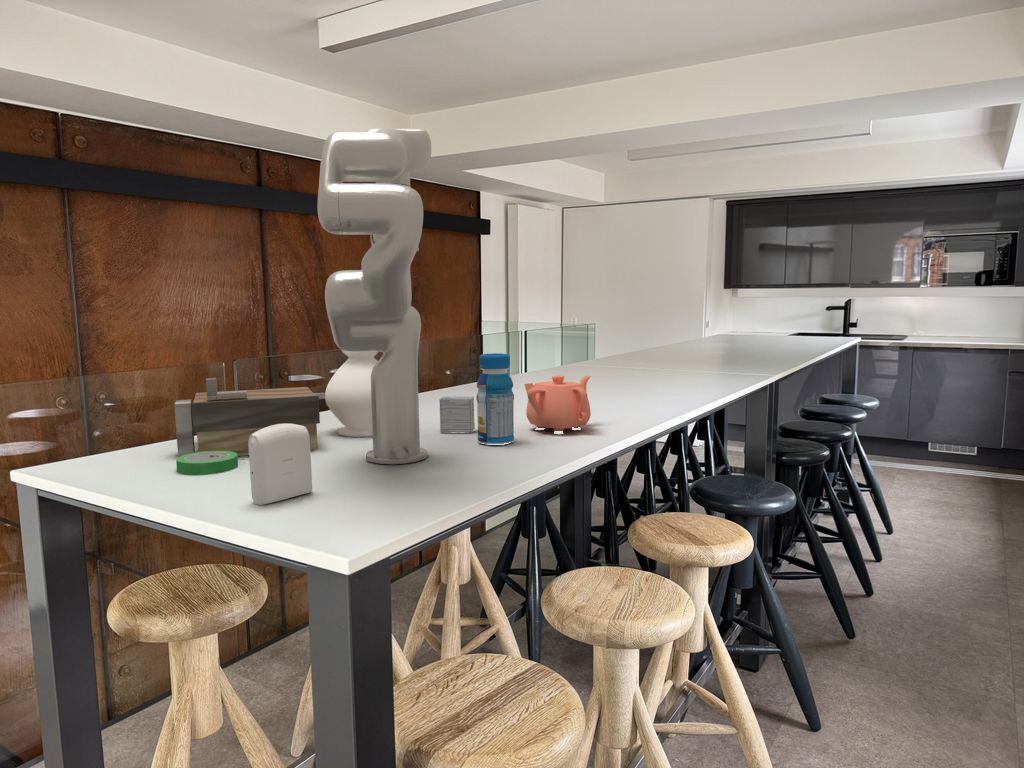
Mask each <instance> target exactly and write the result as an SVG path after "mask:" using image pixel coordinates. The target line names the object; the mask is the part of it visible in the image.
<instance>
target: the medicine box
mask: <svg viewBox="0 0 1024 768" xmlns="http://www.w3.org/2000/svg"><path fill="white" fill-rule="evenodd" d="M439 425H440V426H439V427H440V429H439V431H440V432H472V431H473V430H474V429H475V428H476V426H475V425H476V424H475V397H474V396H473V395H445V396H440V398H439ZM474 431H475V430H474ZM474 431H473V432H474Z"/></svg>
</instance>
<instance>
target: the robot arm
mask: <svg viewBox="0 0 1024 768" xmlns="http://www.w3.org/2000/svg"><path fill="white" fill-rule="evenodd" d="M431 141H432V140H431V137H430V134H429V133H428V131H427V130H426V129H424V128H412V127H411V128H407V127H403V128H402V127H399V128H398V127H397V128H396V127H395V128H394V127H391V128H390V127H375V128H370V129H368V130H366V131H335V132H332V133H330V134H329V135H328V136H327V138H326V139H325V141H324V143H323V144H324V145H323V148H322V152H321V159H320V166H319V181H318V190H317V191H318V192H317V193H318V195H317V216H318V220H319V223H320V226H321V227H322V229H323V230H325V232H327V233H329V234H333V235H340V236H341V235H343V236H344V235H370V236H369V237H370V244H371V246H370V247H369V248H368V250H367V251H366V252H365V253H364V255H363V258H362V260H361V264H360V265H361V266H360V267H361V269H351V270H349V269H347V270H346V269H345V270H338V271H335V272H333V273H331V274H330V275H329V277H328V278H327V280H326V284H325V287H324V300H325V301H324V303H325V308H326V313H327V318H328V322H329V325H330V330H331V333H332V337H333V341H334V343H335V345H336V346H337V348H338V349H339V350H341V351H342V350H343V351H355V352H356V351H378V353H379V352H380V353H383V354H382V356H381V357H380V359H379V360H377V361H378V362H377V363H376V364H375V366H374V367H373V369H372V372H371V404H372V433H373V436H372V449H371V450H368V451H367V452H366V453H365V460H366V461H367V462H370V463H373V464H379V465H399V464H409V463H416V462H419V461H420V462H421V461H423V460H425V459H426V458H428V456H429V455H428V450H427V449H426V448H423V447H421V444H420V443H421V440H420V407H419V406H420V403H419V400H420V399H419V398H420V397H419V375H418V374H419V347H420V340H421V332H422V330H421V329H422V321H421V315H420V313H419V311H418V310H417V308H415V307H414V306H412V299H413V298H412V297H413V296H412V278H411V265H412V262H413V260H414V258H415V255H416V253H417V252H419V250H420V248H419V245H420V242H421V241H420V240H421V238H422V233H423V226H424V225H423V224H424V204H423V200H422V199H423V198H422V197H421V195H420V194H419V192H418V191H417V190H416V189H414V188H412V186H411V172H415V171H421V170H424V169H427V168H428V167H429V165H430V163H431V160H432V142H431ZM344 182H345V183H344ZM346 182H347V183H346ZM349 182H350V183H349ZM352 182H353V183H352ZM355 182H356V183H355Z"/></svg>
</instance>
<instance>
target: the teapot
mask: <svg viewBox="0 0 1024 768" xmlns="http://www.w3.org/2000/svg"><path fill="white" fill-rule="evenodd" d="M590 378H591V375H586V376H583V377H582V378H581V380H580V381H579V382H574V381H564V380H565V376H564V375H552V376H551V379H552V380H551V381H550V380H549V381H542V382H540V381H539V382H535V383H533V382H530V383H524V387H525V392H526V394H527V399H528V400H527V405H526V411H525V413H526V418H527V421H528V422H529V424H531V425H533V426H535V428H536V427H538V428H545V427H546V428H549V429H550V428H551V429H553V431H563V430H564V431H565V429H571V428H572V427H574V428H578V427H581V426H586V425H587V424H588V422H589V420H590V419H591V406H590V401H589V399H588V398H589V397H588V393H587V383H588V382H589V379H590Z"/></svg>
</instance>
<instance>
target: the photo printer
mask: <svg viewBox="0 0 1024 768" xmlns="http://www.w3.org/2000/svg"><path fill="white" fill-rule="evenodd" d="M248 447H249V455H248V458H249V460H248V461H249V472H250V475H249V477H250V487H251V488H250V490H251V499H252V502H253V504H255V505H259V506H264V505H267V504H272V503H277V502H279V501H284V500H287V499H290V498H294V497H298V496H301V495H306V494H309V493H311V492H312V491H313V475H312V474H313V473H312V459H311V450H310V438H309V433H308V430H307V429H306V427H305V426H301V425H297V424H276V425H272V426H268V427H265V428H263V429H261V430H258V431H257V432H255V433H253V434H252V435H251V436H250V437H249V441H248Z"/></svg>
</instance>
